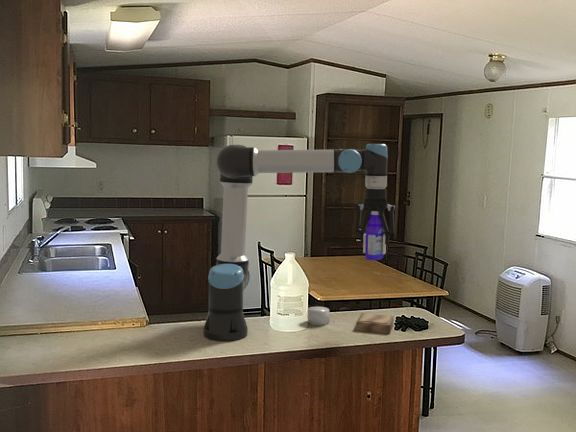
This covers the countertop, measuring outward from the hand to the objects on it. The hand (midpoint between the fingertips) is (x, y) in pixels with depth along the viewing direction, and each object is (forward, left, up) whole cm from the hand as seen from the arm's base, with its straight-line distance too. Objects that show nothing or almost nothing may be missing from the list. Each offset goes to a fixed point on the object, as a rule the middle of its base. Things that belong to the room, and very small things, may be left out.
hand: (374, 252), depth 214 cm
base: (+1, +2, -28) cm, 28 cm away
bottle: (0, 0, -3) cm, 3 cm away
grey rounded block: (-20, +1, -28) cm, 34 cm away
